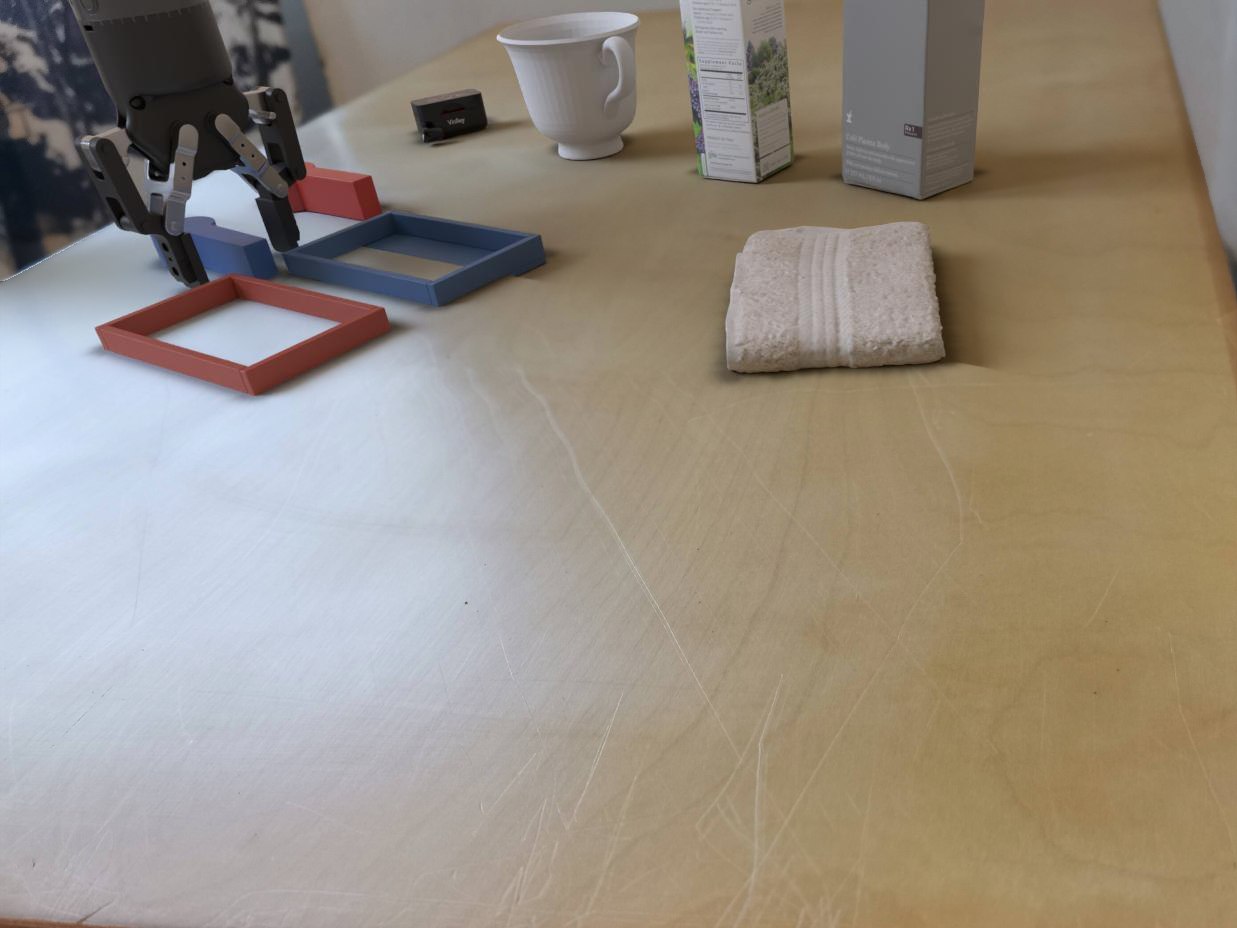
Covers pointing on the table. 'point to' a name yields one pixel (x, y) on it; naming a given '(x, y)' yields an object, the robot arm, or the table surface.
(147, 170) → the robot arm
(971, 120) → the cosmetic box
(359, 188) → the red rounded-end block
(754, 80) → the syrup box
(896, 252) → the washcloth
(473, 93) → the black electronic device
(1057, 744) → the table surface
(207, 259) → the blue rounded-end block
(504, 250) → the blue frame
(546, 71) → the teacup
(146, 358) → the red frame
